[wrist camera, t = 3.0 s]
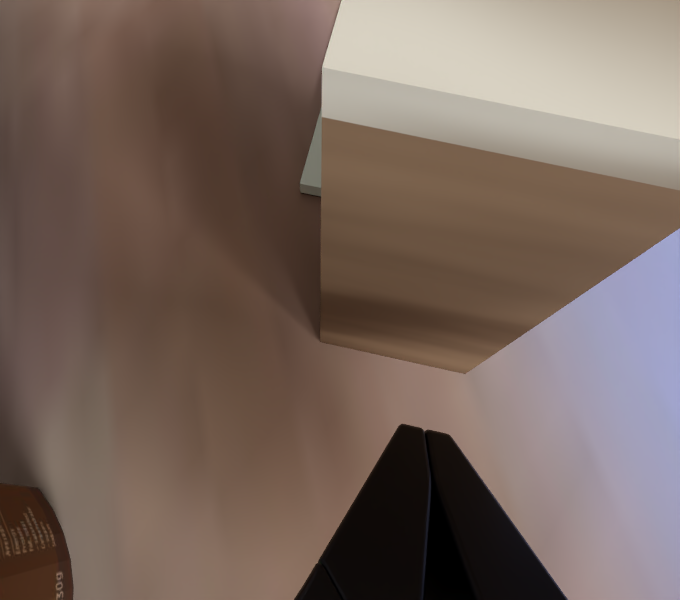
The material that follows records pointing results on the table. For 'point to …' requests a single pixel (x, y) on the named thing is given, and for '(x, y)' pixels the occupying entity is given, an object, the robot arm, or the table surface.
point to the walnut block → (489, 165)
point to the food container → (32, 548)
